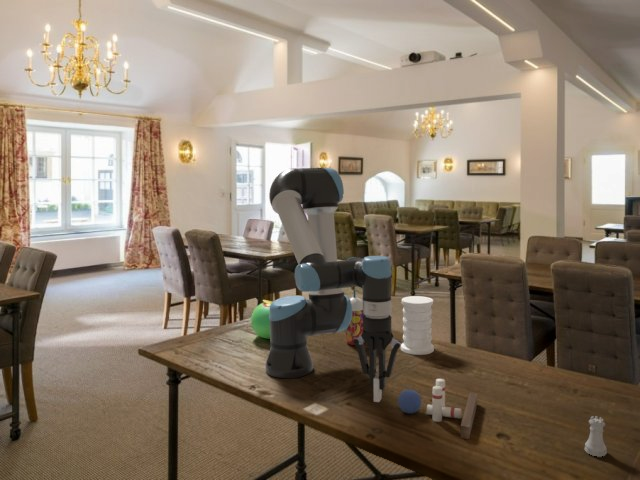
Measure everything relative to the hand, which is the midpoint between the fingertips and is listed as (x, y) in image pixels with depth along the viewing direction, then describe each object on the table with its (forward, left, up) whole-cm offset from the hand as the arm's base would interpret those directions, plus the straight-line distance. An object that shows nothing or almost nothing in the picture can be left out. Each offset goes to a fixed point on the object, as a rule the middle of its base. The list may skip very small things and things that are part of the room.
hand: (377, 399), depth 145 cm
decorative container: (+1, +49, -2) cm, 49 cm away
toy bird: (-54, +46, -2) cm, 71 cm away
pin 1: (+16, +2, -2) cm, 17 cm away
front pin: (+13, 0, -1) cm, 13 cm away
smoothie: (-22, +49, -2) cm, 54 cm away
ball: (+9, -1, +1) cm, 9 cm away
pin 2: (+16, -2, -2) cm, 17 cm away
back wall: (+24, 0, -2) cm, 24 cm away
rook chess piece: (+52, -7, -2) cm, 53 cm away
